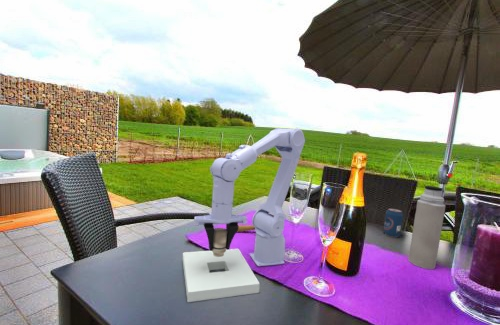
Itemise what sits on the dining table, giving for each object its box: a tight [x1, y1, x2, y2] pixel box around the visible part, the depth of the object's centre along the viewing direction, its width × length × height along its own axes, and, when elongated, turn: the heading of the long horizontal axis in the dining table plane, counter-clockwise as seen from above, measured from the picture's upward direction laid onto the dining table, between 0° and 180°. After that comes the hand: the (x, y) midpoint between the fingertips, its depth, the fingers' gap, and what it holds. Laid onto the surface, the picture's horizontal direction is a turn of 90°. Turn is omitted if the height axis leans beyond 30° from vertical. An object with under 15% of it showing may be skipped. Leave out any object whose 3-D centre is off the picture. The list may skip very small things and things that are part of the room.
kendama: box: [236, 224, 255, 233], centre depth 103 cm, size 8×6×18 cm
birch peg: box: [212, 227, 227, 257], centre depth 69 cm, size 4×4×7 cm
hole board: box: [182, 248, 261, 303], centre depth 70 cm, size 18×20×2 cm
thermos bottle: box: [408, 185, 446, 270], centre depth 87 cm, size 8×8×28 cm
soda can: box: [383, 207, 404, 238], centre depth 114 cm, size 7×7×12 cm
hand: (219, 248), depth 69 cm, fingers closed on birch peg, 4 cm apart
